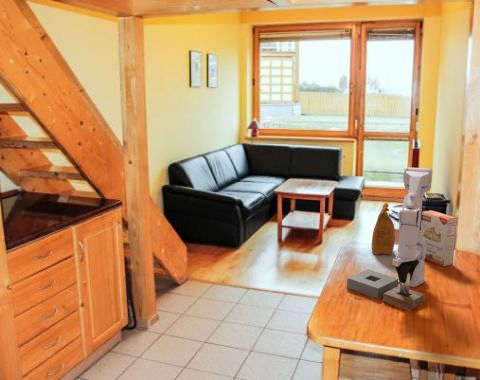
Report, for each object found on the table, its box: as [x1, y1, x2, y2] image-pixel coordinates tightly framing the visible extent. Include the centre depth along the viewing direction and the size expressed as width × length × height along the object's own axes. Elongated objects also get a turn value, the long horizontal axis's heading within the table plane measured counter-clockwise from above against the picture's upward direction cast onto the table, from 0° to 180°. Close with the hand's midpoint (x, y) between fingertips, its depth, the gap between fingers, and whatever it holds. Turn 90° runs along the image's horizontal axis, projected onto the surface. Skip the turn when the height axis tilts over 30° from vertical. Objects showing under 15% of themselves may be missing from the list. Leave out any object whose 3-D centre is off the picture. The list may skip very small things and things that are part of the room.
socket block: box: [382, 285, 426, 312], centre depth 171 cm, size 10×10×3 cm
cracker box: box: [419, 209, 458, 268], centre depth 210 cm, size 14×6×21 cm, turn 25°
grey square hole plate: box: [346, 269, 399, 300], centre depth 182 cm, size 13×13×4 cm
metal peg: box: [399, 272, 410, 293], centre depth 169 cm, size 3×3×7 cm
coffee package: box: [371, 202, 396, 256], centre depth 222 cm, size 10×12×22 cm
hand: (405, 281), depth 169 cm, fingers closed on metal peg, 3 cm apart
